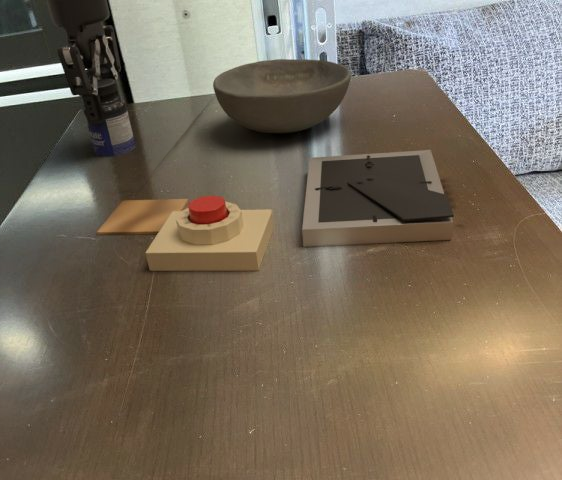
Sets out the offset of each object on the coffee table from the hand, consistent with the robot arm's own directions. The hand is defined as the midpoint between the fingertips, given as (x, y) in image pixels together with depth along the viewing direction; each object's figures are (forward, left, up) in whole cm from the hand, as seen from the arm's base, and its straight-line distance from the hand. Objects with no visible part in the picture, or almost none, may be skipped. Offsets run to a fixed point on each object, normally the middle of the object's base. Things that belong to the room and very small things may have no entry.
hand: (106, 115), depth 90 cm
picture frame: (+39, -17, -7) cm, 43 cm away
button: (+22, -28, -3) cm, 36 cm away
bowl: (+24, +12, -7) cm, 28 cm away
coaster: (+11, -20, -7) cm, 24 cm away
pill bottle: (0, 0, -7) cm, 7 cm away
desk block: (+22, -28, -7) cm, 36 cm away
